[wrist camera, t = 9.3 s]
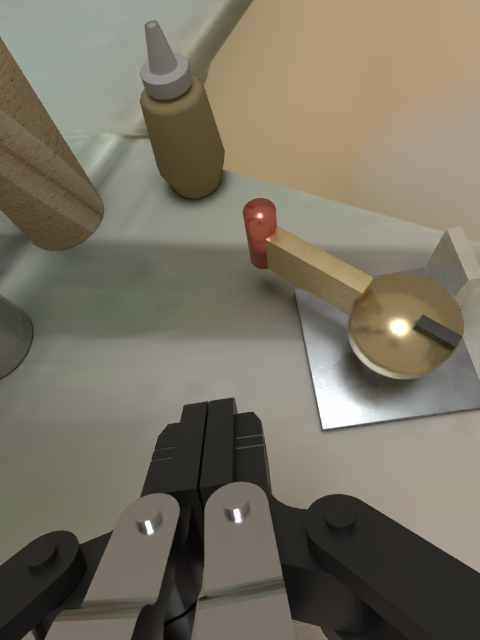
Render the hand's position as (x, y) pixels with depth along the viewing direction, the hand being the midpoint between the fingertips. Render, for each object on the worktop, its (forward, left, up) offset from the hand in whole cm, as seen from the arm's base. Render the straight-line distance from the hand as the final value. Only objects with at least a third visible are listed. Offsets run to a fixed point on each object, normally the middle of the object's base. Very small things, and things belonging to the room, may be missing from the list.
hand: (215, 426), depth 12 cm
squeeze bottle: (-3, +35, -25) cm, 43 cm away
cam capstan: (+9, +13, -19) cm, 25 cm away
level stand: (+13, +10, -25) cm, 30 cm away
